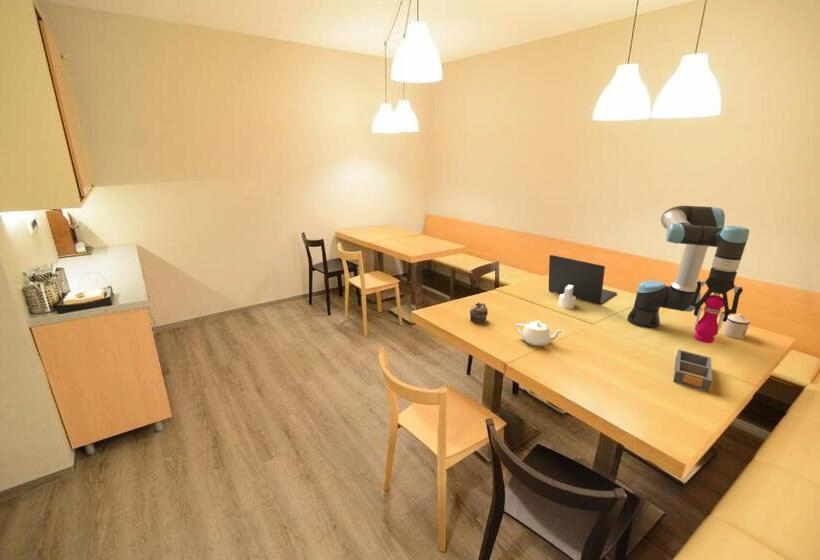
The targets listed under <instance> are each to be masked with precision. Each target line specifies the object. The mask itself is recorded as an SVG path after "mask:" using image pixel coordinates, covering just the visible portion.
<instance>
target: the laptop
mask: <svg viewBox="0 0 820 560" xmlns="http://www.w3.org/2000/svg"><path fill="white" fill-rule="evenodd" d="M548 257H549V258H548V259H549V264H548V265H549V266H548V291H549V292H551V293H555V294H559V295H561V294H564V291H565V288H566V287H567V286H568V285H573V286H574V287H573V293H572V295H573V296H575V297H576V299H577V300H580V301H584V302H588V303H592V304H595V305H598V304H599V306H601V305H602V304H605V302H607V301H608V300H610V299H611V298H613V297H615V296H616V295H617V294H618V292H617V291H612V290H608V289H604V287H603V286H604V278H605V272H606V271H605V269H606V266H605V265H602V264H596V263H591V262H586V261H582V260H577V259H572V258H569V257H562V256H559V255H558V256H557V255H553V254H550V255H549V256H548Z"/></svg>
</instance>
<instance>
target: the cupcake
mask: <svg viewBox="0 0 820 560" xmlns="http://www.w3.org/2000/svg"><path fill="white" fill-rule="evenodd" d="M487 317H488V307H487V306H486V303H485V302H481V303H480V302H477V303H475V304H474V305H473V306H472V307H471V309H470V310H469V318H470V321H471V322H473V323H474V324H477V323H478V324H483V323H485V322H486V320H487Z"/></svg>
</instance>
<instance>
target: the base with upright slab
mask: <svg viewBox="0 0 820 560" xmlns="http://www.w3.org/2000/svg"><path fill="white" fill-rule="evenodd" d="M573 287H574V286H573V285H568V286H567V287H566V288H565V291H564V294H559V299H558V303H557V305H558V307H560V308H563V309H567V310H568V309H569V310H570V309H571V310H572V309H574V308H575V305H576V297H575V296H573V295H572V293H573Z"/></svg>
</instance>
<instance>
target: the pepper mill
mask: <svg viewBox="0 0 820 560" xmlns="http://www.w3.org/2000/svg"><path fill="white" fill-rule="evenodd" d="M720 295H721V294H719V293H713V294H711V295H710V296H709V297H708V298H707V299H706V301H705V302H704V303H703V304H705V305H704V308H703V310H704V312H703V315H702V317H701V318H699V321H698V324H697V325H695V324H694V330H695V333H694V334H693V339H694V340H695V341H698V342H700V343H704V344H713V343H714V341H715V337H716V336H717V335H718V334H719V330H718V316H719V314H721V312H722V309H723V308H724V301H723V296H720Z"/></svg>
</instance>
